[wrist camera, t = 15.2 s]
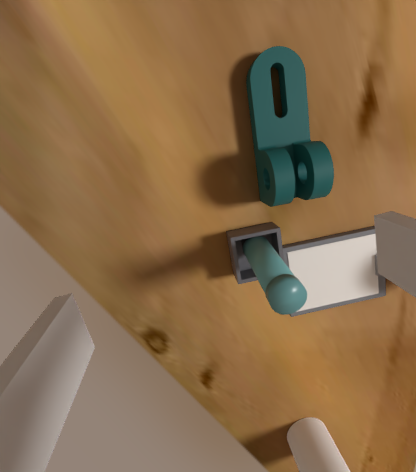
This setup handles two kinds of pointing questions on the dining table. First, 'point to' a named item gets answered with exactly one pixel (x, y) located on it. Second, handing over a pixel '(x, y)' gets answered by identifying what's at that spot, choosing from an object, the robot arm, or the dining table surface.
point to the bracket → (285, 132)
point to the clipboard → (336, 269)
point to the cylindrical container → (314, 447)
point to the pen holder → (238, 257)
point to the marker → (274, 276)
